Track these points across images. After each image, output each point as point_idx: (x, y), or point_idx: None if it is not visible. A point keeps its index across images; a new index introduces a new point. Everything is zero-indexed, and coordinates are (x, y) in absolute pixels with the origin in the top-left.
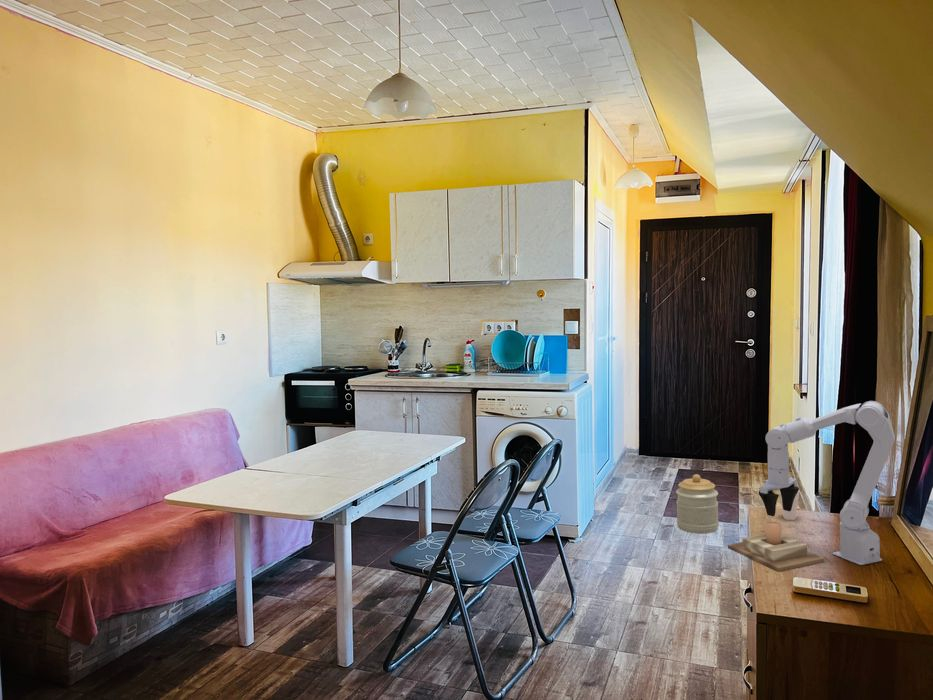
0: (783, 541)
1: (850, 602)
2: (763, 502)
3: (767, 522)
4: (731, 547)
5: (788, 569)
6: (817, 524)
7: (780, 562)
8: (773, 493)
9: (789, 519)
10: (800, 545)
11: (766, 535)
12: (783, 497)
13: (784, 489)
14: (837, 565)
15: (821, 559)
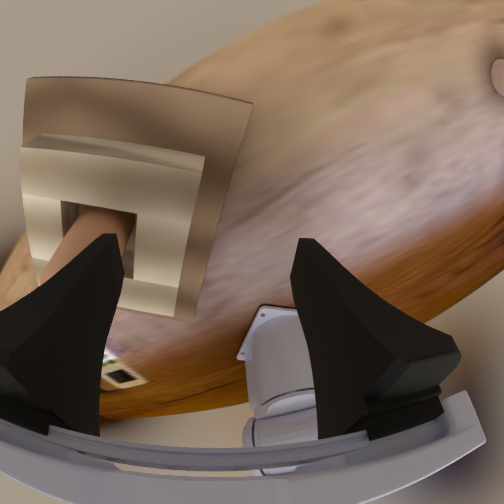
0: (135, 254)
1: None
2: (40, 287)
3: (56, 267)
4: (26, 99)
5: None
6: (489, 161)
7: None
8: (72, 427)
9: (493, 80)
10: (145, 311)
11: (63, 238)
12: (332, 309)
13: (353, 391)
14: (198, 335)
15: (182, 319)
